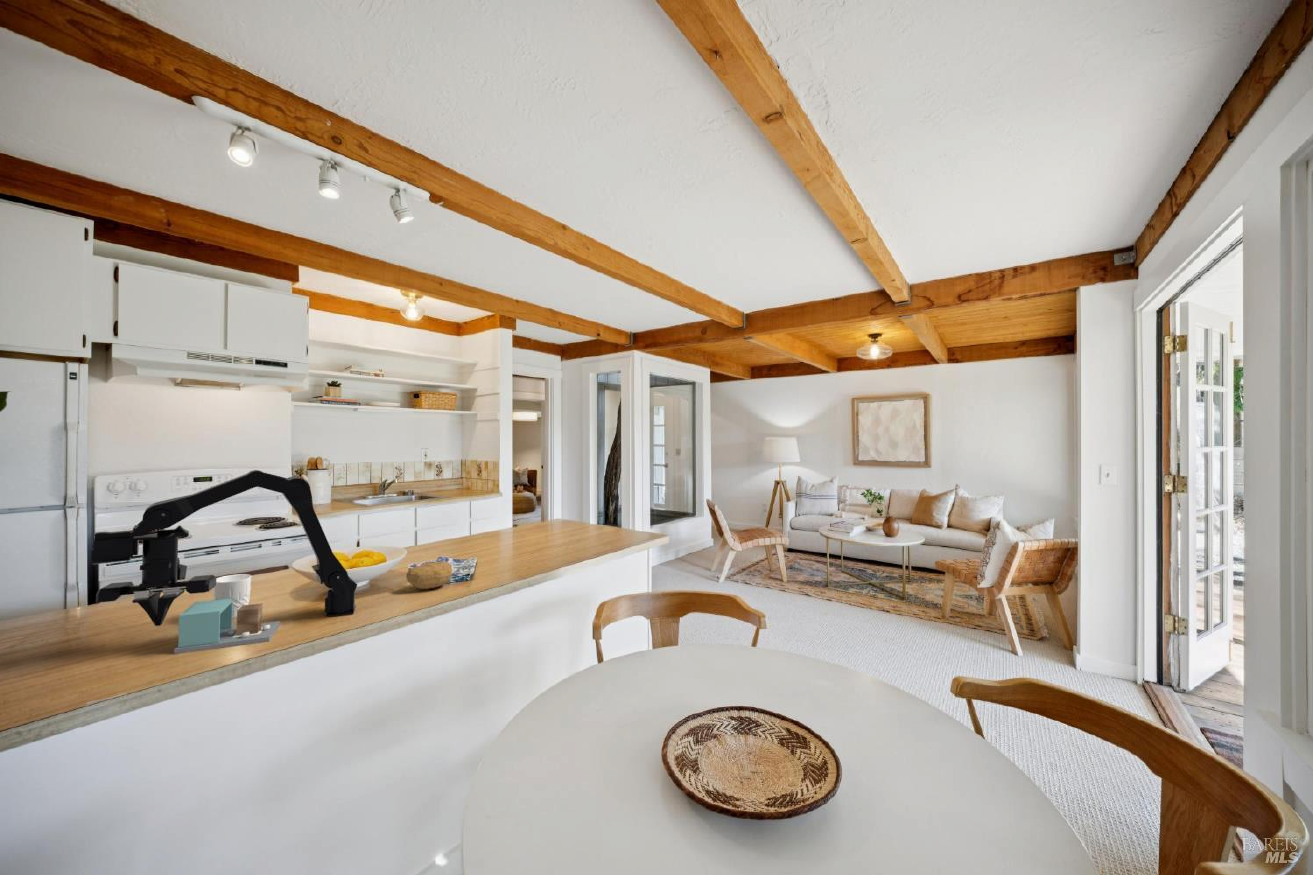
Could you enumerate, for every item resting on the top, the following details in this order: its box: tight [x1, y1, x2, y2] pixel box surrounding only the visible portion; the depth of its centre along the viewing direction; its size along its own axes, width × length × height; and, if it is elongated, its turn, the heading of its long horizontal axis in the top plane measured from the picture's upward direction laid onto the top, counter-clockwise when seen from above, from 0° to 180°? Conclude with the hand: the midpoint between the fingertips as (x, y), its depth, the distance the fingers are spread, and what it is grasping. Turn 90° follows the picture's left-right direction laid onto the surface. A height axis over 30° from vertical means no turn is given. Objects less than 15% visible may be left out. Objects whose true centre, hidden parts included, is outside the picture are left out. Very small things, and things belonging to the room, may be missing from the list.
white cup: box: [212, 573, 252, 619], centre depth 133 cm, size 8×8×10 cm
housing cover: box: [177, 598, 233, 648], centre depth 116 cm, size 7×10×7 cm
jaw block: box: [236, 603, 263, 636], centre depth 120 cm, size 4×4×6 cm
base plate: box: [173, 620, 281, 655], centre depth 118 cm, size 17×11×2 cm, turn 117°
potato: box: [405, 561, 453, 590], centre depth 160 cm, size 10×14×8 cm
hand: (158, 625), depth 112 cm, fingers closed
